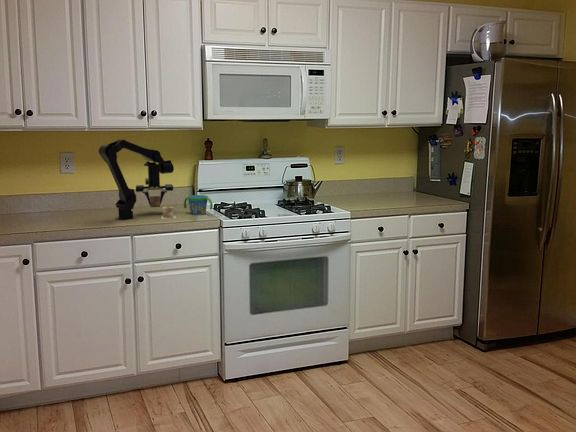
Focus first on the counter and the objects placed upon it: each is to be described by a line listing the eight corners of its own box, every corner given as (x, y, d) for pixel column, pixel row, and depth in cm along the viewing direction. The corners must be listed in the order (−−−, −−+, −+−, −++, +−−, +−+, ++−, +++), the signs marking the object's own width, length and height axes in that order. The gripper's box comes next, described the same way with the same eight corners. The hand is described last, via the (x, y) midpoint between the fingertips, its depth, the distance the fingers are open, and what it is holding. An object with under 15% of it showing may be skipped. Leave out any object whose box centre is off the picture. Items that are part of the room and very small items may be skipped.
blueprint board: (150, 221, 302) (150, 219, 302) (149, 215, 321) (149, 213, 321) (183, 220, 306) (183, 218, 306) (179, 213, 325) (179, 211, 325)
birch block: (163, 218, 306) (163, 208, 305) (162, 216, 310) (162, 206, 309) (173, 217, 307) (173, 208, 306) (172, 216, 312) (172, 206, 311)
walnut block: (150, 207, 313) (150, 197, 312) (150, 205, 318) (149, 196, 317) (160, 207, 314) (160, 197, 313) (159, 205, 319) (159, 196, 318)
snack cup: (216, 214, 322) (215, 195, 320) (206, 218, 313) (205, 198, 311) (190, 212, 328) (190, 194, 326) (180, 216, 319) (179, 196, 317)
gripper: (171, 172, 323) (172, 201, 326) (135, 173, 318) (136, 203, 321) (172, 174, 312) (173, 204, 315) (135, 175, 308) (136, 206, 311)
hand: (155, 204), depth 316 cm, fingers closed on walnut block, 5 cm apart
